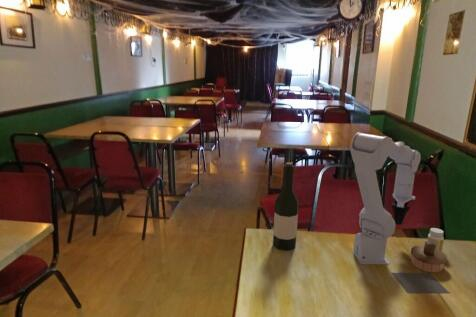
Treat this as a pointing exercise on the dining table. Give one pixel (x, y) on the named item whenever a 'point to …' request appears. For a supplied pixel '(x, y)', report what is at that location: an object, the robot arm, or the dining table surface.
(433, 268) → the bowl
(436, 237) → the supplement bottle
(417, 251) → the lid
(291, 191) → the wine bottle
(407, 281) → the mat
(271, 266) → the dining table surface
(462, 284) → the dining table surface
